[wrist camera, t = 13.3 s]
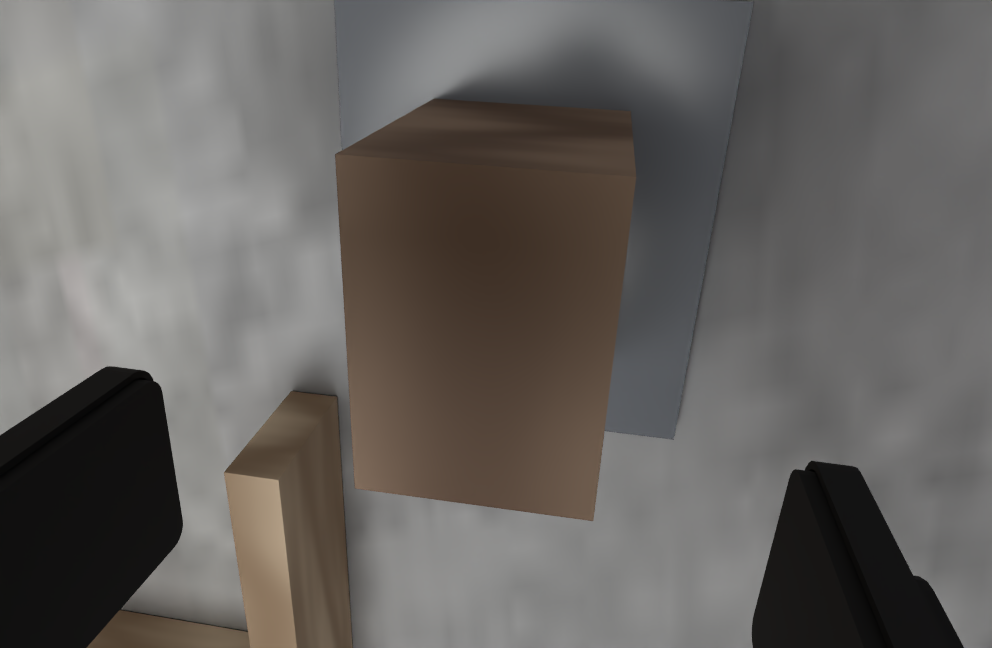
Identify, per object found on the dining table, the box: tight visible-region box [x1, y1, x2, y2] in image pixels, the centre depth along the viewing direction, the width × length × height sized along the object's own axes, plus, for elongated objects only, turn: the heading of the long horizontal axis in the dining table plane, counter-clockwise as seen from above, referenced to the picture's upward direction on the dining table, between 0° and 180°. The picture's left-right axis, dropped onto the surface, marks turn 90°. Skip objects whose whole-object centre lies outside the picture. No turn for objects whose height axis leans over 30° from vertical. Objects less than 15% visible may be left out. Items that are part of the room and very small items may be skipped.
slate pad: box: [334, 0, 754, 440], centre depth 20 cm, size 10×12×1 cm
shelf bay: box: [87, 391, 353, 648], centre depth 25 cm, size 21×14×6 cm, turn 88°
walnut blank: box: [335, 99, 636, 521], centre depth 16 cm, size 5×7×7 cm
